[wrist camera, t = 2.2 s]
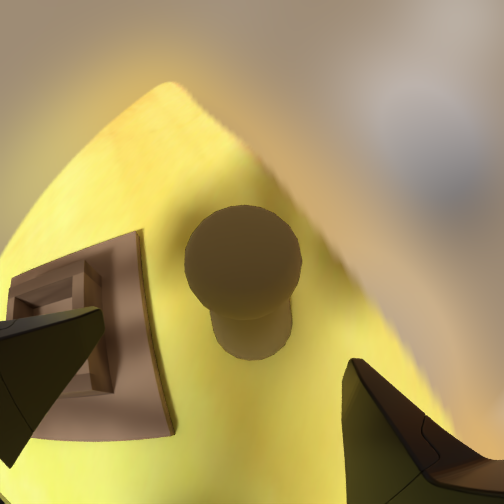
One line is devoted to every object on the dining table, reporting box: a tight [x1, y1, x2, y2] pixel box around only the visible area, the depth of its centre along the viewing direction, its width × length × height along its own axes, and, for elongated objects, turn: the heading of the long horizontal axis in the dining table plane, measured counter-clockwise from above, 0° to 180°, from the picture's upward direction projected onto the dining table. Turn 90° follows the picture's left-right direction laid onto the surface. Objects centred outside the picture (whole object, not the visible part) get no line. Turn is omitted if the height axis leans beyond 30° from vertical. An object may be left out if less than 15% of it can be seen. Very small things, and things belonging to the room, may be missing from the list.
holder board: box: [6, 231, 175, 442], centre depth 17 cm, size 18×18×4 cm
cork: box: [184, 205, 302, 360], centre depth 15 cm, size 6×6×11 cm
